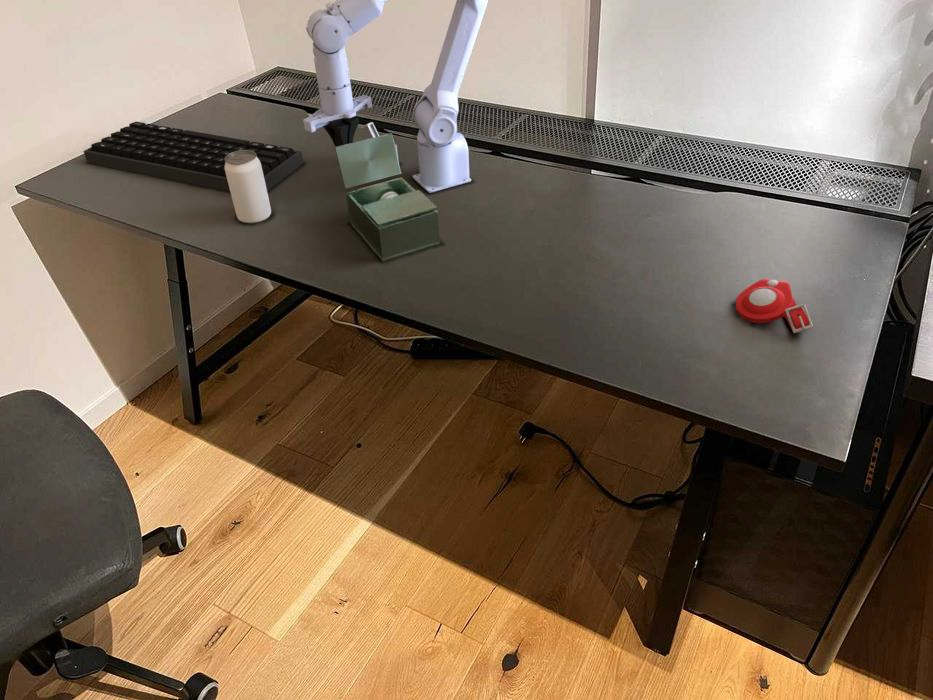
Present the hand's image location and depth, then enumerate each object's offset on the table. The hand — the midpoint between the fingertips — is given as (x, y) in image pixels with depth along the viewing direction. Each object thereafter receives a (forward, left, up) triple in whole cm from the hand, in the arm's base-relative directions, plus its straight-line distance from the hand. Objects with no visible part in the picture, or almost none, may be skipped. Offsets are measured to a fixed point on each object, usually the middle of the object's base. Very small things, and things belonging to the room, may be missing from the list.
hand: (344, 155), depth 143 cm
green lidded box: (-2, +17, -9) cm, 19 cm away
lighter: (-12, -11, -9) cm, 18 cm away
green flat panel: (-2, +9, +2) cm, 9 cm away
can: (+18, -3, -9) cm, 21 cm away
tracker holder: (-40, +69, -9) cm, 81 cm away
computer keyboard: (+23, -32, -9) cm, 41 cm away
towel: (-4, +14, -4) cm, 15 cm away
